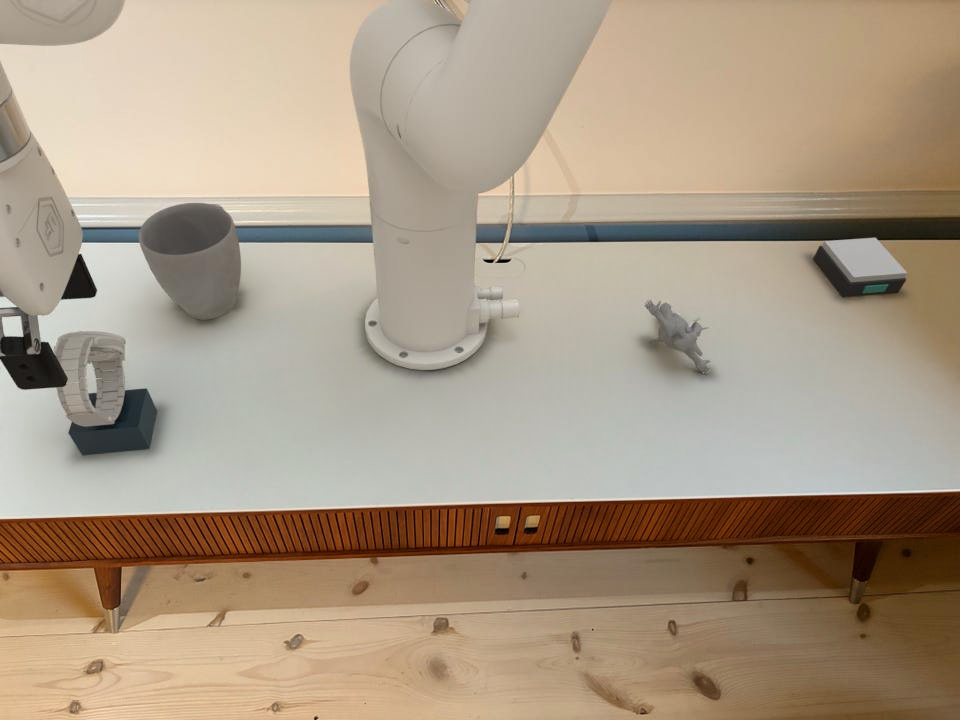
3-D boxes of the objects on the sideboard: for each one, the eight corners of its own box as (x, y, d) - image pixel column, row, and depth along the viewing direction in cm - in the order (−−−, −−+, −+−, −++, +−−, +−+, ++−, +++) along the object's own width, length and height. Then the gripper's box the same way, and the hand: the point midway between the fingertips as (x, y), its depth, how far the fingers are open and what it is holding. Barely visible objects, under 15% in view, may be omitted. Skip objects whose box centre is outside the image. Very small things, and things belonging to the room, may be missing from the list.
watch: (160, 394, 65) (121, 306, 57) (146, 465, 60) (100, 379, 52) (96, 400, 64) (48, 312, 56) (76, 472, 59) (19, 386, 51)
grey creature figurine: (720, 329, 75) (738, 366, 66) (674, 361, 77) (686, 401, 69) (663, 261, 72) (675, 291, 64) (617, 296, 74) (622, 329, 66)
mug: (238, 334, 71) (216, 259, 64) (152, 327, 71) (121, 252, 64) (271, 261, 79) (254, 187, 72) (194, 255, 79) (170, 181, 72)
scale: (865, 255, 85) (876, 236, 82) (899, 293, 80) (911, 274, 78) (812, 259, 84) (822, 240, 82) (843, 298, 79) (853, 279, 77)
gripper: (-27, 210, 36) (89, 421, 48) (59, 65, 47) (134, 265, 60) (-193, 217, 34) (-31, 431, 47) (-63, 66, 46) (39, 269, 58)
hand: (61, 338), depth 53 cm, fingers open, 9 cm apart
